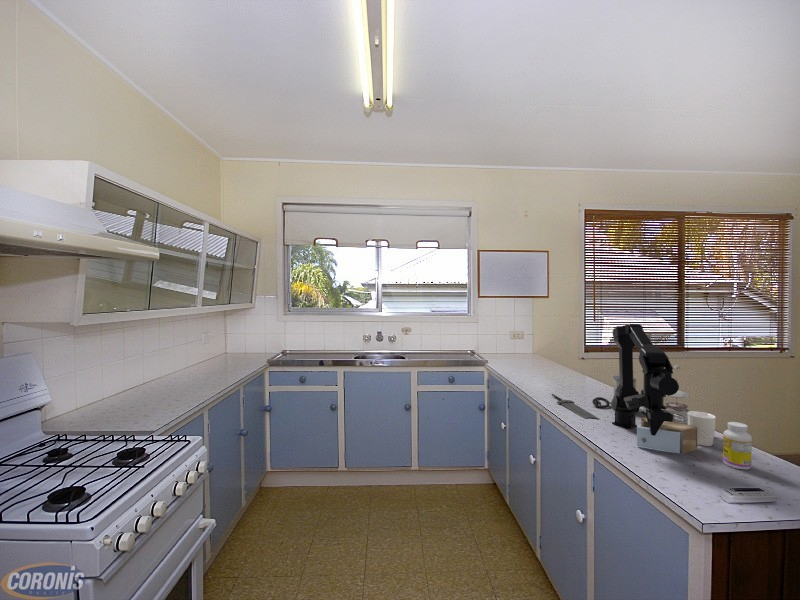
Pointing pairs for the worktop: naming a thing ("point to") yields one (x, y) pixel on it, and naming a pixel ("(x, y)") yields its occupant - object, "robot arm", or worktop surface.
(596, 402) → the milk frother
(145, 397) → the worktop surface
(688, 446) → the cabinet
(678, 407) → the french press
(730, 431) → the supplement bottle
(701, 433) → the white cup
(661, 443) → the door
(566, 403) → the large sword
